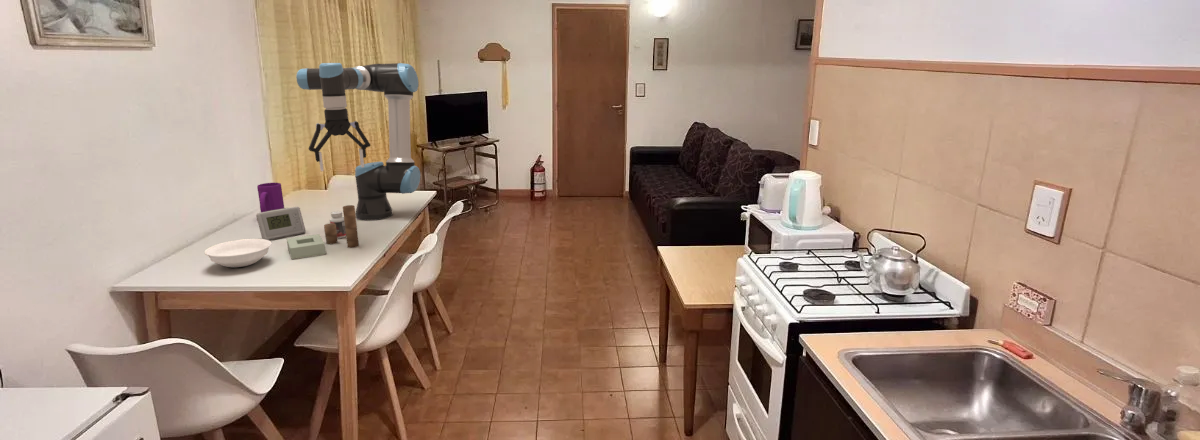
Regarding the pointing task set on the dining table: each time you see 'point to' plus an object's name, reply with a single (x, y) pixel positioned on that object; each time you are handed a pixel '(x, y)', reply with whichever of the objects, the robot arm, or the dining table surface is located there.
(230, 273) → the dining table surface
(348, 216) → the long dowel
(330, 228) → the short dowel
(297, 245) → the hole board
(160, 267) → the dining table surface
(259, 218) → the digital clock
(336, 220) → the pill bottle
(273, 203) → the mug
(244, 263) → the bowl
